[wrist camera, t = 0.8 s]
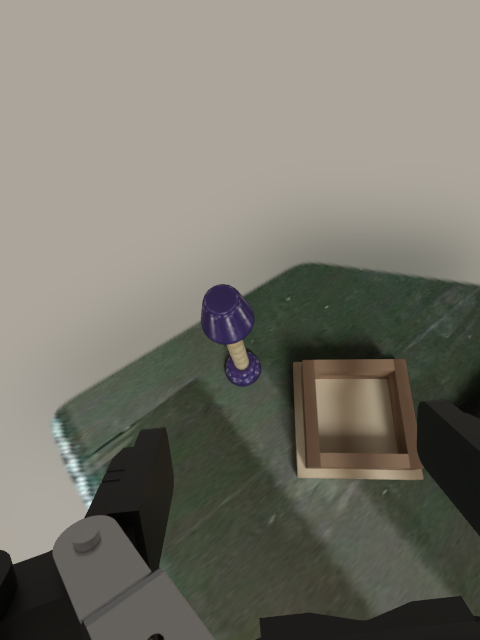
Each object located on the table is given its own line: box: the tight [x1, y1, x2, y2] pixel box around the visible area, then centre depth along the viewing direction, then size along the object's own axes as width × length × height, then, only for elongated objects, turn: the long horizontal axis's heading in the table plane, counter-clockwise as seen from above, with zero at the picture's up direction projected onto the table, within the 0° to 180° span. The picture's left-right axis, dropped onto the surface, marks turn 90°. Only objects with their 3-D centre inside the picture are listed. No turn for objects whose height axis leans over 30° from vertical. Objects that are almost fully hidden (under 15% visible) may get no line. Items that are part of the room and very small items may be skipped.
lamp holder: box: [293, 359, 424, 480], centre depth 39 cm, size 12×12×4 cm
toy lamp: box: [201, 284, 261, 386], centre depth 37 cm, size 5×5×17 cm
